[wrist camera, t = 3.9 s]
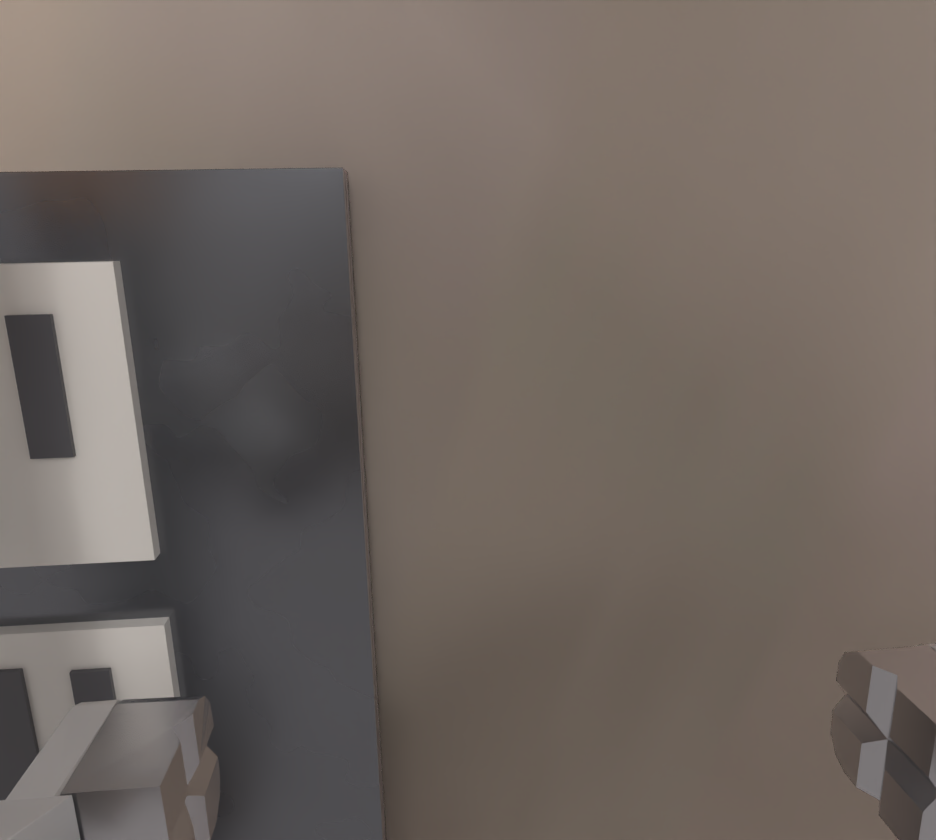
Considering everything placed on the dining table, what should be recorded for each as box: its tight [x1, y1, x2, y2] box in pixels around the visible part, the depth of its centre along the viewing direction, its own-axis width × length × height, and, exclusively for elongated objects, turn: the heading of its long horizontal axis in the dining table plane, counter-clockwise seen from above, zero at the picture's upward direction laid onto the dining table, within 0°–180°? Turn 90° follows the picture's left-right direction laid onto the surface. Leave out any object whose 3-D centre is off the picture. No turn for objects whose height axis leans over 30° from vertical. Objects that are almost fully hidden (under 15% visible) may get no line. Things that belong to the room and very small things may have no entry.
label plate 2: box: [0, 617, 180, 800], centre depth 14 cm, size 5×5×1 cm
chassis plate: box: [0, 168, 386, 840], centre depth 14 cm, size 18×12×1 cm, turn 1°
